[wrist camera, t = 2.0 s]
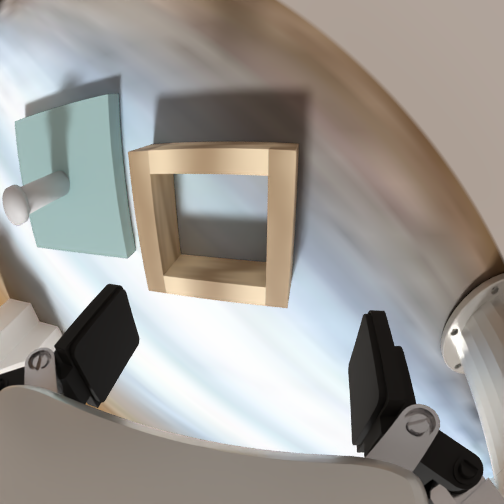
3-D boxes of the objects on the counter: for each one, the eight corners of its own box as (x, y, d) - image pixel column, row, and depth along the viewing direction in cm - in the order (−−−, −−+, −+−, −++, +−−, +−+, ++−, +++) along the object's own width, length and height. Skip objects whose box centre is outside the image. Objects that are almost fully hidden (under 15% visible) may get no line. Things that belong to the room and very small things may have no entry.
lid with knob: (118, 93, 20) (51, 99, 13) (135, 250, 26) (88, 297, 20) (25, 119, 22) (-32, 134, 16) (45, 241, 29) (0, 274, 22)
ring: (298, 143, 20) (296, 150, 17) (291, 281, 25) (287, 308, 22) (153, 144, 22) (128, 151, 18) (166, 268, 27) (148, 290, 23)
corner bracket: (9, 298, 36) (-37, 342, 26) (48, 307, 34) (-5, 362, 23) (36, 348, 41) (-2, 393, 30) (77, 363, 39) (37, 418, 28)
